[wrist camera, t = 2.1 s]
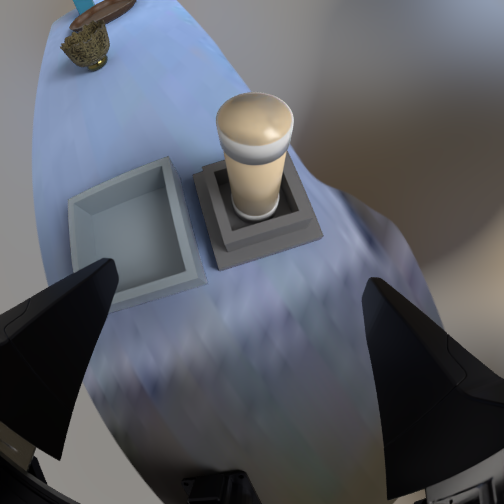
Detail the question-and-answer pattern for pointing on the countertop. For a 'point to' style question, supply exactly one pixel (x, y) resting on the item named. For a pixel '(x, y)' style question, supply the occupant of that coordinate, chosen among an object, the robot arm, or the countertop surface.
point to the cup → (88, 46)
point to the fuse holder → (261, 234)
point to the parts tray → (138, 234)
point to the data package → (83, 5)
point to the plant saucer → (102, 12)
